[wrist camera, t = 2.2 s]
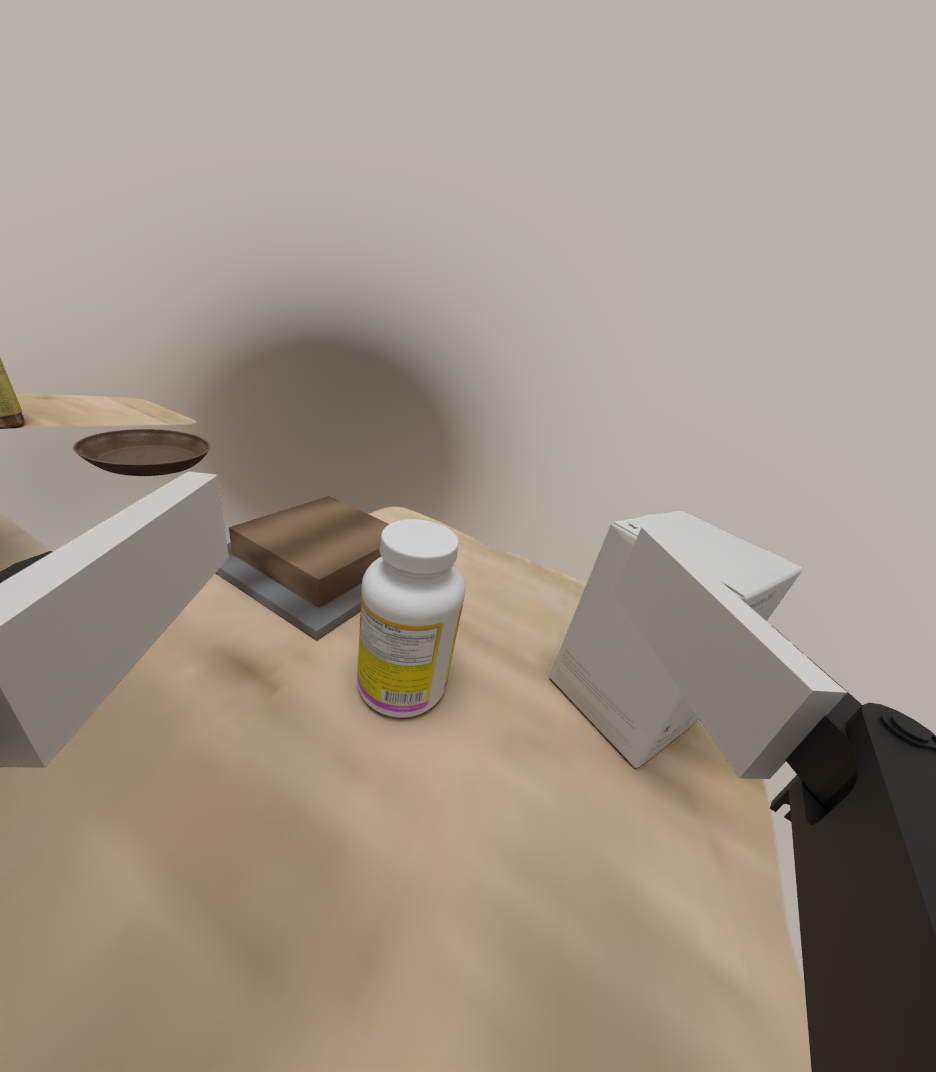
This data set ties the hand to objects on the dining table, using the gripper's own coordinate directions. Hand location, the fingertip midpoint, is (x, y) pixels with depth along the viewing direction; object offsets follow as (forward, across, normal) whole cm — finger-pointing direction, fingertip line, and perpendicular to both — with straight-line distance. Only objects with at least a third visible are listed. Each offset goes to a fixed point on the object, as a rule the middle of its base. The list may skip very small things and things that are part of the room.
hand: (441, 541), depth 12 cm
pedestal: (+25, -9, -18) cm, 32 cm away
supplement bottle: (+10, 0, -18) cm, 21 cm away
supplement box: (+10, +18, -18) cm, 27 cm away
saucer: (+46, -38, -18) cm, 63 cm away
